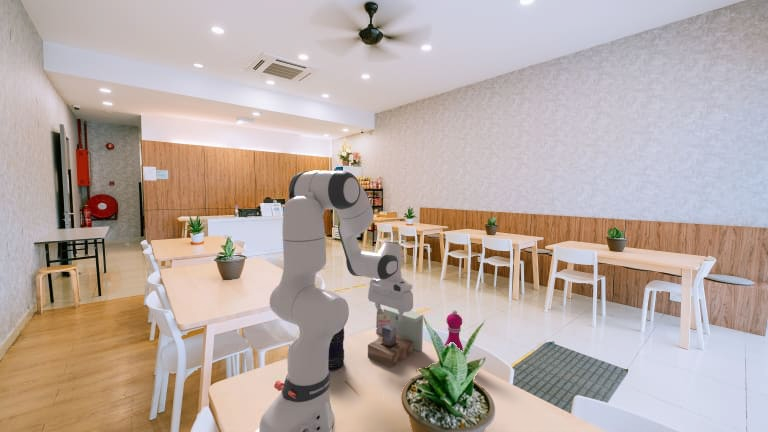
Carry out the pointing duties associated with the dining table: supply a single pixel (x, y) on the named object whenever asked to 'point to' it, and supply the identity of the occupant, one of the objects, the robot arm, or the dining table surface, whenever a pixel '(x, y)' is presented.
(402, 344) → the socket
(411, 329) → the pale green stepped block
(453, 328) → the pepper mill
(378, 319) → the tea bag
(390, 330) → the peg
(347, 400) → the dining table surface
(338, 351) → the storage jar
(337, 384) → the dining table surface
